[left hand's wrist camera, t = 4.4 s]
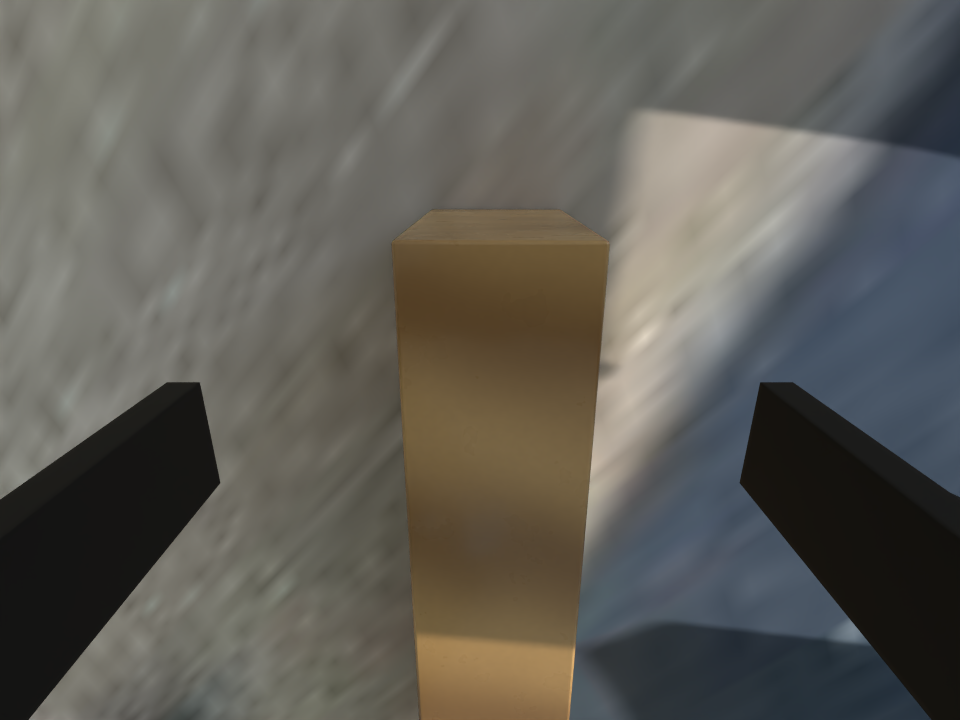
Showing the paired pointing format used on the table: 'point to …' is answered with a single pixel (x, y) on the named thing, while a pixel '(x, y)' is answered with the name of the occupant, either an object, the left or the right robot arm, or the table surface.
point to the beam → (497, 451)
